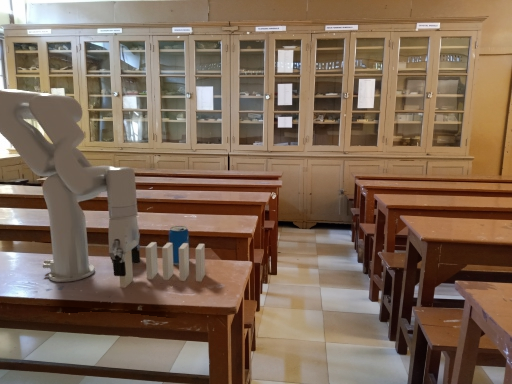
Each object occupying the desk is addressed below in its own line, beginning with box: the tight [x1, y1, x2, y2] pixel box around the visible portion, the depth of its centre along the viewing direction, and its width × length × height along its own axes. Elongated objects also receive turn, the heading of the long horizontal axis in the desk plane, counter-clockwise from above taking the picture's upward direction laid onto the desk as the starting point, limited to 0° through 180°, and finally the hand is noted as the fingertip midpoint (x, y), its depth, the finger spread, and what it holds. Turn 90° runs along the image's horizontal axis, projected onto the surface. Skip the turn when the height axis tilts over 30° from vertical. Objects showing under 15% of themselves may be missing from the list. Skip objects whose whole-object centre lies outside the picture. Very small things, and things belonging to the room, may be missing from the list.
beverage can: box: [168, 225, 190, 266], centre depth 117 cm, size 6×6×12 cm
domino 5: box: [195, 243, 206, 282], centre depth 105 cm, size 2×5×10 cm, turn 176°
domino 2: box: [145, 241, 159, 280], centre depth 106 cm, size 2×5×10 cm, turn 176°
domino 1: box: [118, 250, 134, 288], centre depth 100 cm, size 2×5×10 cm, turn 176°
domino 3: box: [161, 242, 174, 281], centre depth 106 cm, size 2×5×10 cm, turn 176°
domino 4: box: [178, 243, 190, 282], centre depth 105 cm, size 2×5×10 cm, turn 176°
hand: (127, 269), depth 100 cm, fingers open, 9 cm apart
